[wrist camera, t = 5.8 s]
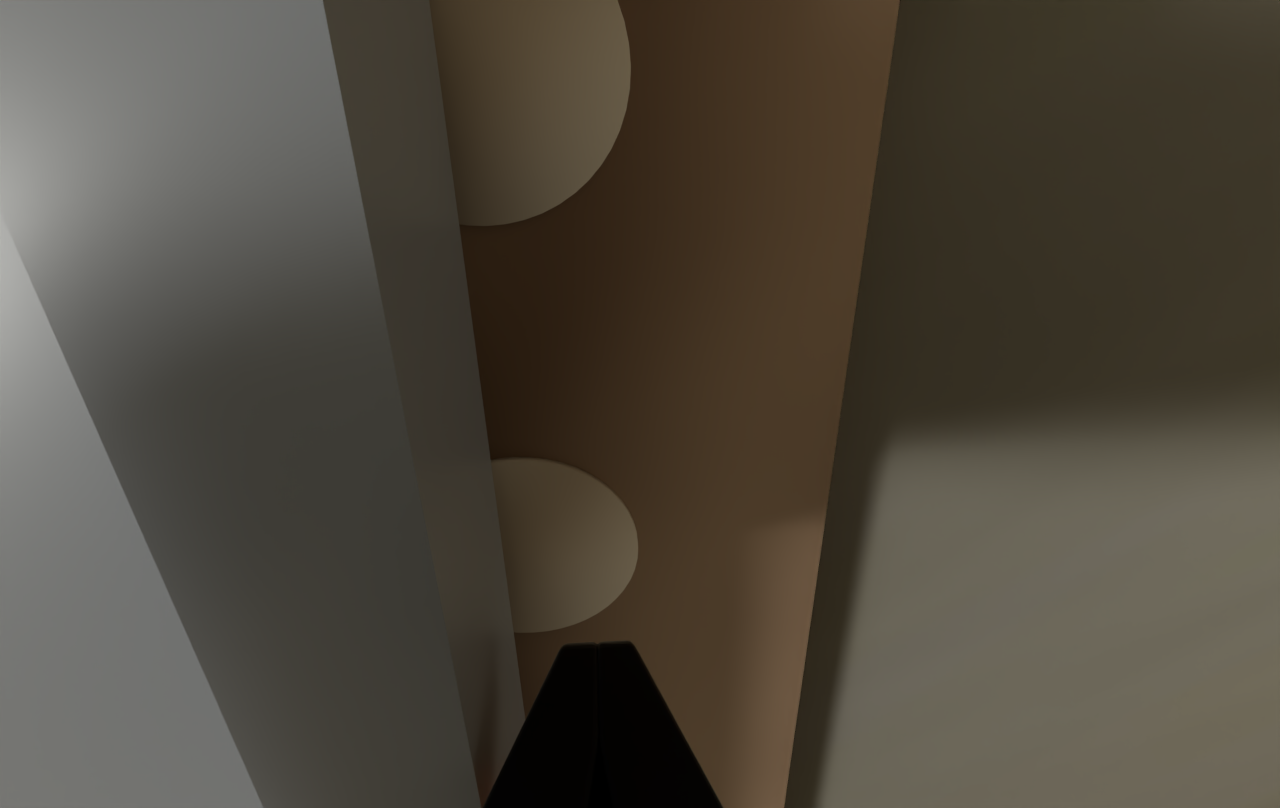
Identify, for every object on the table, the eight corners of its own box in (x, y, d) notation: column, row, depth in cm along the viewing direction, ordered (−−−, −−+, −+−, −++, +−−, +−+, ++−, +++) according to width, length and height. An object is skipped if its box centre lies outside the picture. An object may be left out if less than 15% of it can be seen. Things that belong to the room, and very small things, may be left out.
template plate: (908, -335, 7) (956, -363, 6) (763, 835, 17) (773, 891, 16) (-55, -334, 7) (-155, -366, 6) (363, 862, 17) (350, 920, 16)
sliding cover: (364, -478, 6) (168, -794, 3) (554, 936, 16) (549, 1155, 13) (-1117, -486, 5) (-2966, -864, 2) (66, 971, 15) (-42, 1204, 13)
